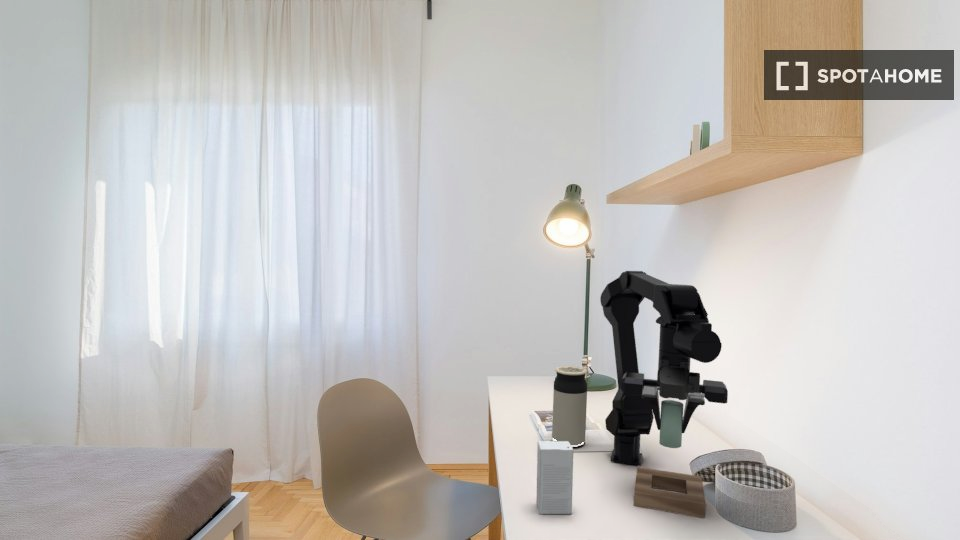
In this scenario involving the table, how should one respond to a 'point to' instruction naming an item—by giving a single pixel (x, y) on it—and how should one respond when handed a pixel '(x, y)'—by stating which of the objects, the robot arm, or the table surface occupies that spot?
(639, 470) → the walnut holder
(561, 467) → the skincare box
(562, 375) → the travel mug
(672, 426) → the green peg
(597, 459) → the table surface
